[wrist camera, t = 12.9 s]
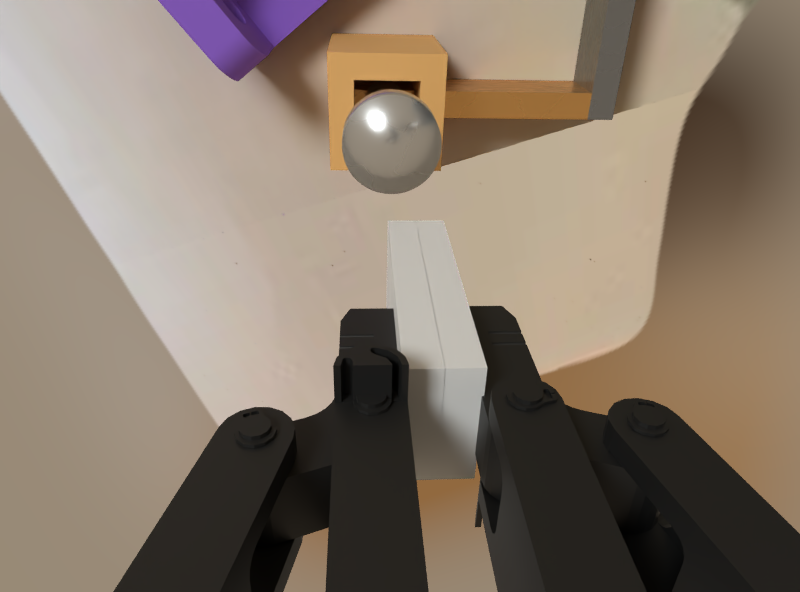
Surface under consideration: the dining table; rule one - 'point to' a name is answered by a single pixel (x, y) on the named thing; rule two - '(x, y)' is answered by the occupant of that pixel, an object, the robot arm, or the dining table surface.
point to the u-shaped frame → (550, 99)
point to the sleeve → (382, 76)
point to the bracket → (239, 28)
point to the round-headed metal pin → (391, 140)
